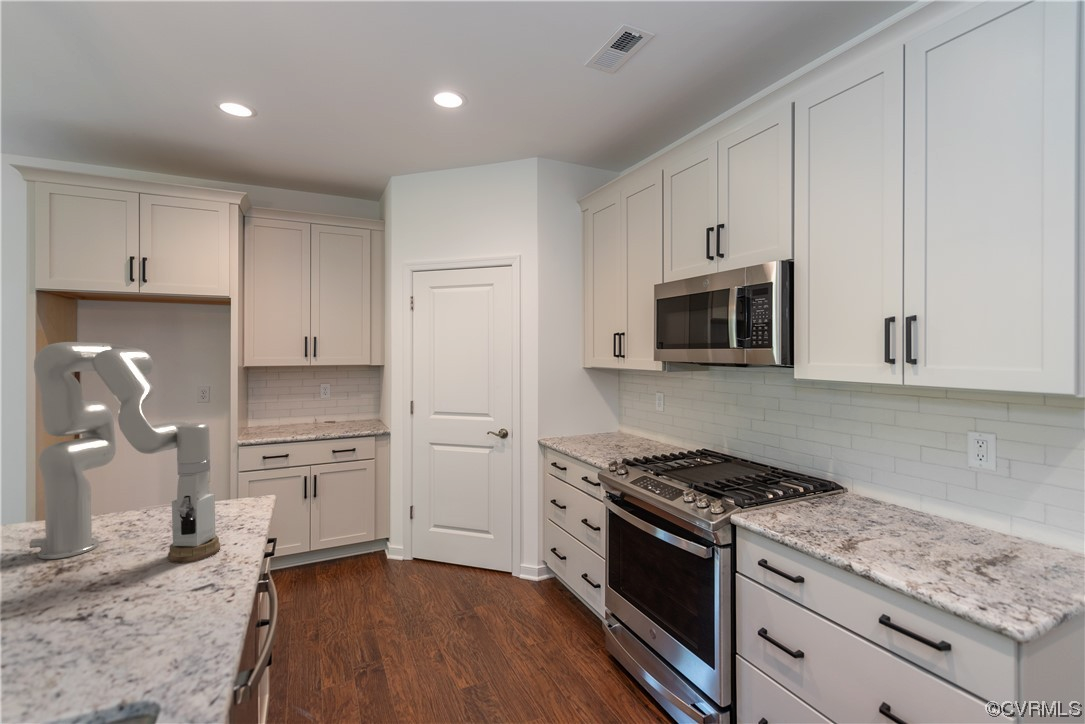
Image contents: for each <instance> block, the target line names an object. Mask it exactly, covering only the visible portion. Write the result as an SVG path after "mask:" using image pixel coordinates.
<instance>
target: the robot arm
mask: <svg viewBox="0 0 1085 724" xmlns="http://www.w3.org/2000/svg"><path fill="white" fill-rule="evenodd" d="M153 369H154V361H153V359H152V357H151V354H149V353H148V352H147V351H145V350H143V349H140V348H136V347H131V346H124V345H119V344H114V343H110V342H109V343H107V342H93V341H92V342H88V341H87V342H86V341H85V342H84V341H64V342H63V341H62V342H61V341H60V342H54V343H51V344H48V345H45V346H44V347H43V348H41V349H40V350H39V351H38V352H37V354H36V356H35V358H34V361H33V370H34V374H35V378H36V380H37V381H36V382H37V383H38V387H39V391H40V406H41V407H40V408H41V415H42V424H43V428H44V431H45V433H46V434H47V435H48V436H51V437H57V438H59V437H60V438H61V437H69V436H74V435H81V436H82V437H81V438H75V439H70V440H63V441H59V442H55V443H52V444H50V445H48V446H47V447H45V448H44V449H42V451H41V452H40V454H39V455H38V459H37V460H38V461H37V462H38V467H39V471H40V473H41V476H42V477H41V478H42V481H43V491H44V493H43V494H44V517H45V519H44V520H45V523H44V526H45V527H44V528H45V529H44V532H45V537H43V538H32V539H31V540H30V542H29V546H28V547H29V548H30V549H34V548H40V550H39V551H38V553H37V557H38V558H39V559H42V560H56V559H63V558H69V557H74V556H77V555H81V554H85V553H88V552H90V551H92V550H94V549H96V548H97V547H99V545H100V540H99V539H97V538H92V537H93V533H92V531H93V529H92V528H93V527H92V522H93V521H92V487H91V483H90V482H89V480H88V478H87V477H86V476H85V475H84V473H83V472H85V471H88V470H91V469H92V470H93V469H97V468H99V467H103V466H105V465H108V464H110V463H111V462H112V461H113V459H114V458H115V455H116V451H117V450H116V448H117V446H116V437H115V436H116V433H115V422H114V416H113V412H112V410H111V408H110V407H109V406H108V405H107V404H106V403H105V402H103V401H99V400H84V398H83V390H82V386H81V384H80V382H79V381H78V379H77V378H76V377H75V376H74V375H73V374H72V373H75V372H96V373H97V375H98V376H99V377H100V379H101V380H102V382H103V383H104V385H106V387H107V389H109V391H110V392H111V394H112V395H113V397H115V399H116V400H117V402H118V403H119V408H118V412H117V421H118V427H119V429H120V432H121V433H122V435H123V436H124V438H125V439H126V440H127V442H128V443H129V445H131V446H132V447H133V448H134V449H135V450H136V451H137V452H139V453H140V454H141V453H142V454H146V455H152V454H157V453H160V452H166V451H168V450H173V449H176V460H177V461H176V463H177V465H176V466H177V475H178V481H177V488H176V489H177V490H176V491H177V492H176V500H177V511H178V512H180V517H181V518H180V521H181V534H182V535H189V534H194V533H195V532H196V527H195V519H194V510H196V509H197V506H198V501H199V500H200V499H202V498H203V497H205V496H206V495H207V494H210V481H209V480H210V479H209V472H210V471H211V451H210V450H211V447H210V446H211V444H210V441H211V440H210V439H211V438H210V426H209V425H208V424H207V423H205V422H204V423H203V422H194V423H193V422H192V423H190V422H189V423H187V422H181V421H172V422H166V423H165V422H164V423H159V424H154V425H153V424H150V422H149V421H148V420H147V418H146V417H145V415H144V413H143V411H142V404H144V403H146V402H147V401H148V400H149V399H151V398H152V397H153V396H154V394H155V387H154V386H153V385H152V384H151V382H150V381H149V379H148V378H147V377H146V376H147V375H149V374H150V373H151V372H152V370H153ZM190 502H191V504H192V506H194V507H193V508H187V507H188V505H189V503H190ZM190 511H191V515H190V513H189V512H190Z"/></svg>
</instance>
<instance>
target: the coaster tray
mask: <svg viewBox="0 0 1085 724" xmlns="http://www.w3.org/2000/svg"><path fill="white" fill-rule="evenodd" d="M219 540H220V539H219V536H218V535H217V534H216V536H215V538H213V539H211V540H209V541H207V542H205V543H203V544H201V545H199V546H173V542H172V543H171V544H169V551H168V553H167V560H169V561H168V562H170V563H172V562H177V563H176V564H183V563H182V562H188V563H192V562H191V561H194V562H197V560H199V561H202V560H201V559H203V560H206V559H209V558H211V557H213V556H215V555H216V553H217V552H218V553H220V551H221V543H220V541H219ZM219 550H220V551H219ZM218 553H217V554H218ZM212 555H213V556H212ZM210 556H211V557H210ZM208 557H209V558H208ZM205 558H206V559H205Z"/></svg>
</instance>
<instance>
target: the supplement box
mask: <svg viewBox="0 0 1085 724" xmlns="http://www.w3.org/2000/svg"><path fill="white" fill-rule="evenodd" d="M215 497H216V495H215V494H214V493H209V494H207V495H206V496H205V497H203V498H202V499H200V500H199V501H198V506H197V509H196V510H194V519H195V527H196V532H195V533H194V534H189V535H182V534H181V521H180V518H181V517H180V512H178V511H177V499H174V500H172V501H171V519H172V520H171V522H172V523H171V524H172V525H171V526H172V529H171V530H172V543H173V546H199V545H201V544H203V543H205V542H207V541H209V540H211V539H213V538H215V536H216V535H217V534H216V502H215V501H216V500H215V499H216V498H215ZM193 507H194V506H192V504H191V502H190V503H189V505H188V507H187V508H193ZM189 513H190V515H191V511H190V512H189Z"/></svg>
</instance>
